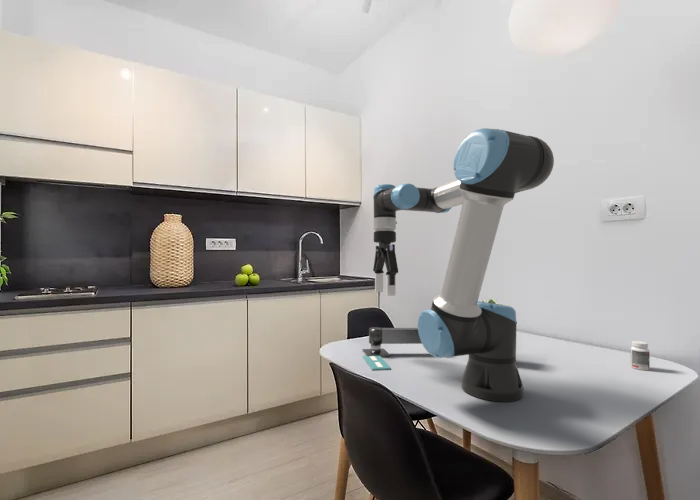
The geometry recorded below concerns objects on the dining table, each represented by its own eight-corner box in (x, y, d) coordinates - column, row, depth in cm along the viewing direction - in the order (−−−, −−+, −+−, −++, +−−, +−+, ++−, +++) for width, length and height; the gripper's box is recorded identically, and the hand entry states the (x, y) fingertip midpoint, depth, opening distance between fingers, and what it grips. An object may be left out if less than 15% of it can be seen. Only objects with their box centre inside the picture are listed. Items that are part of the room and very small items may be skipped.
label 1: (384, 362, 118) (384, 360, 118) (367, 363, 117) (367, 361, 117) (379, 356, 125) (379, 354, 125) (362, 357, 124) (362, 355, 124)
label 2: (390, 369, 112) (391, 367, 112) (372, 370, 111) (372, 368, 111) (384, 362, 118) (384, 360, 118) (367, 363, 117) (367, 361, 117)
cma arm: (432, 340, 133) (432, 327, 133) (436, 344, 128) (437, 330, 128) (368, 341, 131) (368, 327, 131) (369, 344, 126) (369, 330, 126)
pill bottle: (653, 371, 113) (653, 344, 113) (635, 370, 114) (636, 343, 114) (644, 366, 118) (644, 341, 118) (627, 365, 119) (627, 340, 119)
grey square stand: (389, 356, 125) (389, 345, 126) (367, 357, 124) (367, 346, 124) (383, 350, 133) (383, 340, 133) (362, 351, 132) (362, 340, 132)
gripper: (408, 227, 111) (408, 297, 110) (384, 233, 135) (384, 290, 134) (385, 227, 109) (385, 297, 109) (365, 233, 134) (364, 290, 133)
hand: (384, 293), depth 122 cm, fingers open, 13 cm apart
